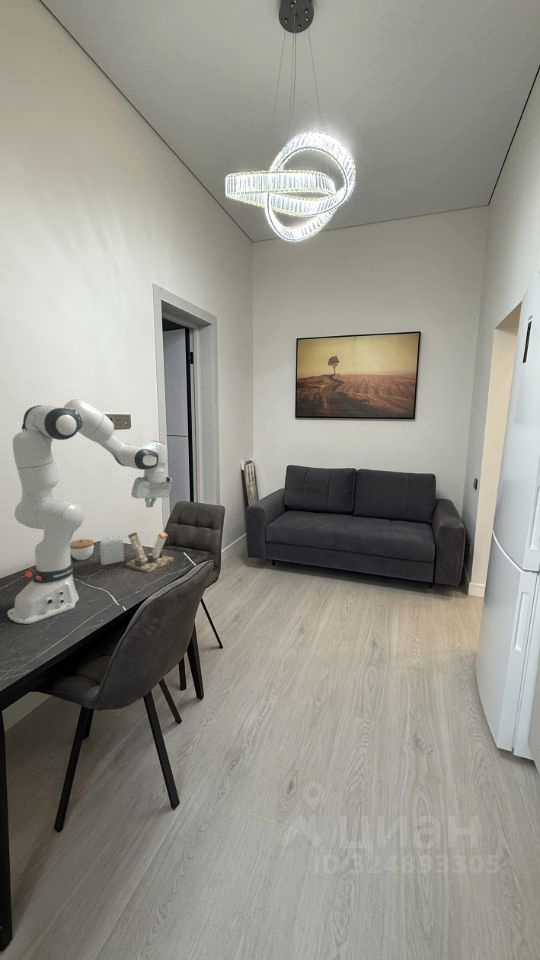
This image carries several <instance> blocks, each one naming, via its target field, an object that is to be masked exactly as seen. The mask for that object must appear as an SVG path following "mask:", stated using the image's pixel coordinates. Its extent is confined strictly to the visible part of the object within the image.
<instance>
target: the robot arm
mask: <svg viewBox="0 0 540 960" xmlns="http://www.w3.org/2000/svg"><path fill="white" fill-rule="evenodd" d="M21 430H22V431H20V432H18V433H16V435H14V436H13V438H12V450H13V451H12V452H13V458H14V463H15V466H16V469H17V472H18V476H19V480H20V485H21V499H20V502H19V503H18V504H17V505H16V506H15V509H14V517H15V519H16V521H17V523H18V524H21V525H22V526H25V527H27V528H30V529H35V530H36V529H38V530H43V539H42V540H41V541H40V542H38V544H36V546H35V548H34V557H35V566H36V568H35V569H34V571H33V572H32V571H30V570H27V571H26V572H25V573H24V576H25V577H27V578H29V579H30V578H31V581H30V582H29V583H28V584H27V585H26V586H25V587H24V588H23V589H22V590H20V591H19V593H18V594H16V596H15V599H14V607H13V608H11V609H9V610H7V615H8V616H7V618H8V617H9V618H10V619H9V618H8V619H9V620H11V621H12V620H13V622H15V623H18V624H22V623H23V625H25V624H26V625H28V624H32V623H37V622H38V621H41V620H44V619H46V618H49V617H52V616H55V615H58V614H61V613H63V612H67V611H69V610H72V609H74V608H76V603H77V602H78V600H80V597H79V593H78V592H77V590H76V587H75V581H74V577H73V576H74V567H73V562H72V555H71V553H70V543H71V542H72V538H73V535H74V533H75V532H76V531H77V530H78V529H79V528H80V527H81V526H82V524H83V523H84V518H85V513H84V510H83V508H82V507H81V506H80V505H79V504H77V503H74V502H71V501H69V500H62V499H61V500H60V499H54V497H53V489H54V488H55V487H56V486H57V485H58V483H59V475H58V472H57V468H56V463H55V461H54V460H55V459H54V457H53V453H52V442H53V440H57V441H64V440H69V439H71V438H73V437H74V436H75V435H76V434H77V433H79V434H81V435H82V436H83V437H85V438H87V439H89V440H90V441H91V442H94V443H97V444H99V445H100V446H101V447H102V448H104V449H105V450H106V451H108V452H109V453H110V454H111V455H112V457H113V458H114V460H115V461H116V463H117V464H119V465H120V466H122V467H129V468H133V469H136V470H140V471H141V470H142V471H143V476H137V478H135V479H134V482H133V485H132V489H131V497H132V498H134V499H144V502H145V507H146V508H148V509H149V508H153V507H154V504H155V503H156V501H157V499H158V498H169V496H170V495H171V494H170V493H171V489H172V484H171V483H172V481H173V478H172V477H170V476H168V475H167V474H165V467H166V464H167V460H168V459H167V457H168V446H167V445H166V444H165V443H163V442H160V441H157V440H150V441H149V442H148V443H146V444H144V445H141V446H138V445H133V444H130V443H127V442H126V443H125V442H122V441H121V440H119V439H118V438H117V437H116V436H114V432H115V424H114V423H113V421H112V420H111V419H110V418H109V417H108V415H106V414H104V413H103V412H102V411H101V410H99V409H98V408H96V407H95V406H93V405H92V404H90V403H88V402H86V401H85V400H82V399H79V398H74V399H71V400H70V401H68V402H67V403H66V404H64V406H63V407H57V406H53V405H40V404H39V405H34V406H32V407H29V408H28V409H27V410H26V411H25V413H24V415H23V419H22V426H21Z"/></svg>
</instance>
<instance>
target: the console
mask: <svg viewBox="0 0 540 960" xmlns="http://www.w3.org/2000/svg"><path fill="white" fill-rule="evenodd" d="M127 537H128V539H129V541H130V544H131V546H132V549H133V551H134V554H135V556H136V558H135V559H133V560H132V559H131V560H129V561H127V562H125V567H127V568H129V569H130V568H131V569H133V568H134V569H133V570H137V571H140V570H141V571H140V572H143V571H144V573H150V572H152V570H153V571H155V570H156V568H157V569H159V568H161V567H163V565H164V566H166V565H168V564H170V563H172V562H174V557H171V556H167V555H164V553H163V551H161V552H160V554H159V555H160V556H159V557H158V558H156V559H153V556H152V554H151V553H152V552H150V553H147V554H145V551H144V549H143V547H142V543H141V541H140V538H139V536H138V532H132V533H130V534H127ZM171 561H172V562H171ZM169 562H170V563H169ZM167 563H168V564H167ZM165 564H166V565H165ZM160 566H161V567H160ZM158 567H159V568H158ZM154 569H155V570H154Z"/></svg>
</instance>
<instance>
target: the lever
mask: <svg viewBox="0 0 540 960" xmlns="http://www.w3.org/2000/svg"><path fill="white" fill-rule="evenodd" d="M167 538H168V534H167V533H166V532H165V531H163V532H159V533H158V535H157V538H156V541H155V543H154V546H153V549H152V551H151V552H150V553H151V554H152V556H153V559H156V558H158V557H159V556H160V555H159V554H160V552H162V549H163V547H164V545H165V542H166V539H167Z"/></svg>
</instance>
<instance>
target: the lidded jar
mask: <svg viewBox="0 0 540 960" xmlns="http://www.w3.org/2000/svg"><path fill="white" fill-rule="evenodd" d="M94 544H95V542H94V540H92V539H85V538H84V539H82V538H81V539H77V540H73V541H71V542H70V555H71V558H74V559H75V561H85V560H88V559H89V558H90V557H91V556H92V555H93V553H94V548H95V545H94Z"/></svg>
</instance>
